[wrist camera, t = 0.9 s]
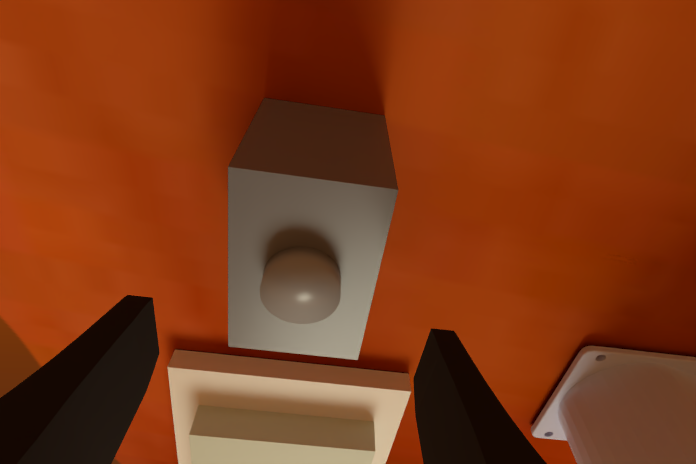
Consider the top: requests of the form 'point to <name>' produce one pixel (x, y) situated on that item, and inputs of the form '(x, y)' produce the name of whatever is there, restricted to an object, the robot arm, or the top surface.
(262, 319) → the housing
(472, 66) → the top surface
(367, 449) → the stand
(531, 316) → the top surface
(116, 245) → the top surface
